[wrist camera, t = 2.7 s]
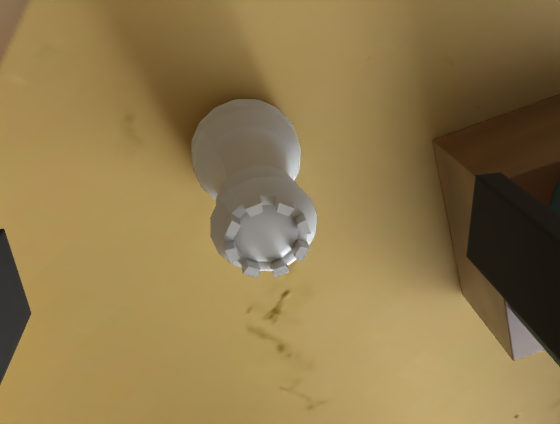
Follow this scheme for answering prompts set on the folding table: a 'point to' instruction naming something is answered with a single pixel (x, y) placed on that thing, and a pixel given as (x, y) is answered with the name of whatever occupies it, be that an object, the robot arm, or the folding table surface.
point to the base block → (517, 167)
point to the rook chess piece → (254, 186)
